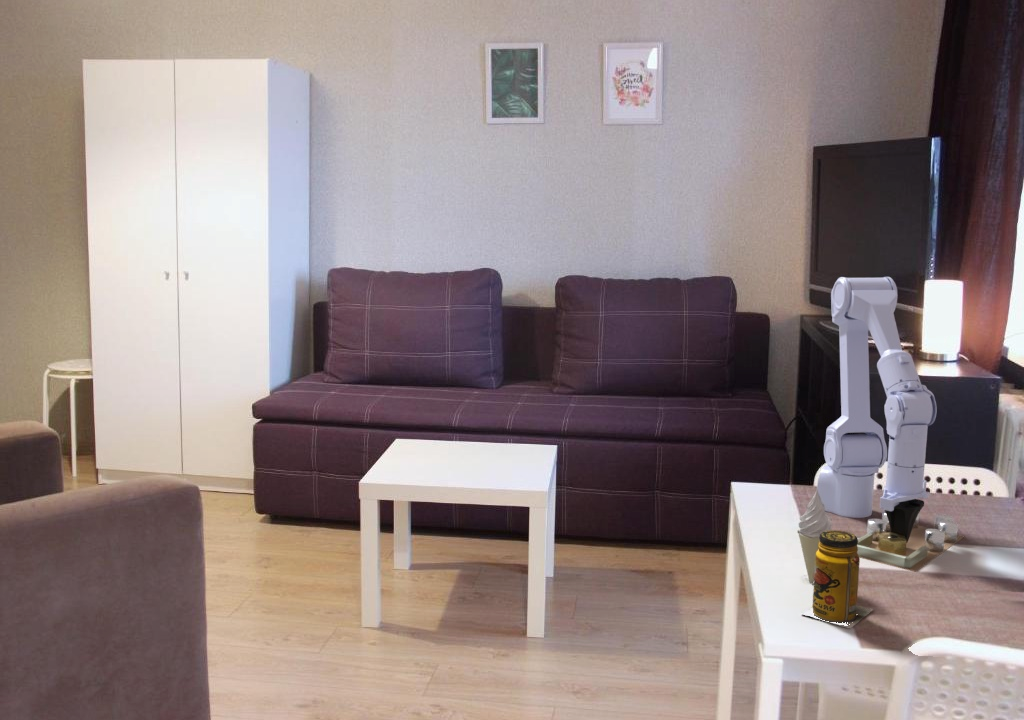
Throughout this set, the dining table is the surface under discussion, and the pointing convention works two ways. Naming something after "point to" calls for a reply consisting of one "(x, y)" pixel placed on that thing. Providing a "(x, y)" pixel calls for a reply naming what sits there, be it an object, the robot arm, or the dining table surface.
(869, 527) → the spacers
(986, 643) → the dining table surface
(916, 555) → the tan tray
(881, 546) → the nut
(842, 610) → the condiment
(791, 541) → the dining table surface
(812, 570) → the ice cream cone
